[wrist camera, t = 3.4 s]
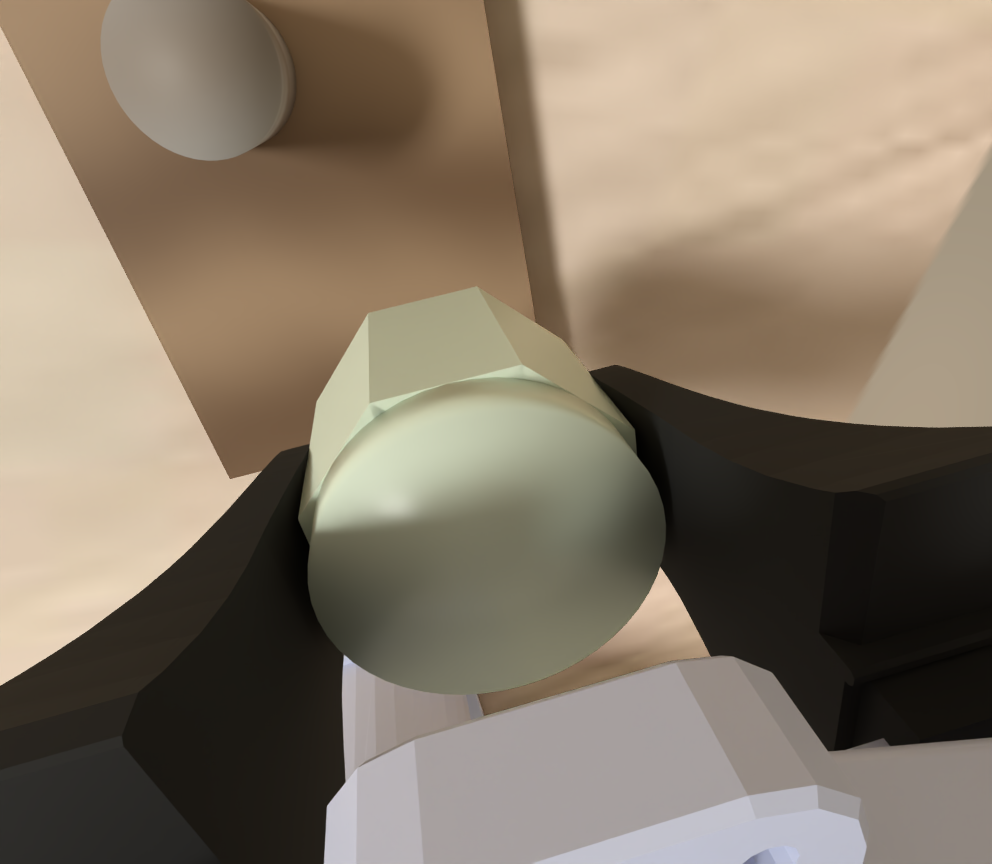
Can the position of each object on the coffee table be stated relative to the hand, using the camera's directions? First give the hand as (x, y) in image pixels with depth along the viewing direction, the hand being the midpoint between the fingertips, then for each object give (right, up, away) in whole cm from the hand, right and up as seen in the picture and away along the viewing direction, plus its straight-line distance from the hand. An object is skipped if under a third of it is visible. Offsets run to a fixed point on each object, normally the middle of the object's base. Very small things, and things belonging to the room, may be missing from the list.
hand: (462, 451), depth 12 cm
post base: (-4, +7, +4) cm, 9 cm away
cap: (0, +1, +1) cm, 2 cm away
